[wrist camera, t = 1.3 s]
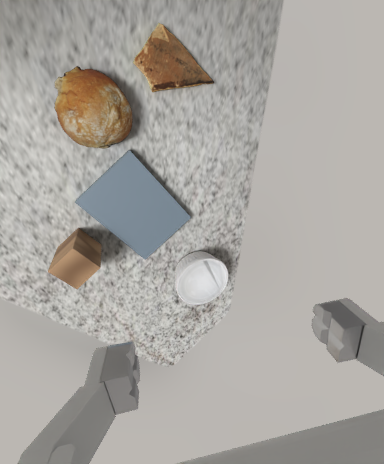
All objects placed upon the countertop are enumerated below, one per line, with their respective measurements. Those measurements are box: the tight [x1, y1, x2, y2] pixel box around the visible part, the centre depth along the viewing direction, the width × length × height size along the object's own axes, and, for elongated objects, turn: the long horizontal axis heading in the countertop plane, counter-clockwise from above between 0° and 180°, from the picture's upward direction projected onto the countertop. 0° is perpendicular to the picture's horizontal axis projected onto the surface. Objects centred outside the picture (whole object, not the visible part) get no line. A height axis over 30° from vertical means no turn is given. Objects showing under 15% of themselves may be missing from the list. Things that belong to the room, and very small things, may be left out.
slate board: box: [75, 150, 191, 259], centre depth 42 cm, size 16×12×2 cm
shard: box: [133, 23, 214, 92], centre depth 36 cm, size 11×8×2 cm
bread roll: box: [54, 66, 132, 149], centre depth 33 cm, size 10×10×8 cm
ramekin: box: [175, 251, 228, 305], centre depth 50 cm, size 11×11×5 cm
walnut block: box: [48, 228, 101, 289], centre depth 39 cm, size 5×5×8 cm
